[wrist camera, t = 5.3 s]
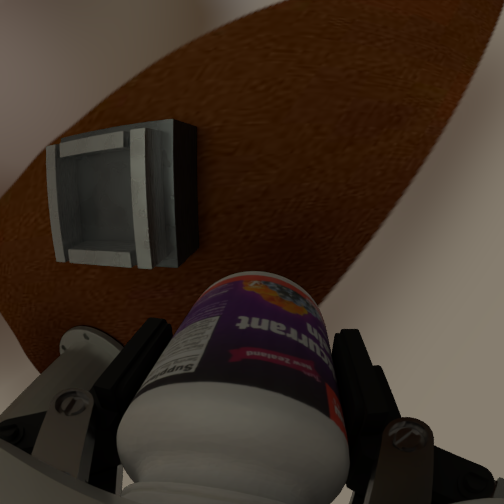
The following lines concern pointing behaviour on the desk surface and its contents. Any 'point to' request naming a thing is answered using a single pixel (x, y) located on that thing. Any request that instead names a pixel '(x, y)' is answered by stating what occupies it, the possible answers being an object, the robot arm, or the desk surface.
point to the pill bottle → (240, 404)
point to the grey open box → (125, 195)
